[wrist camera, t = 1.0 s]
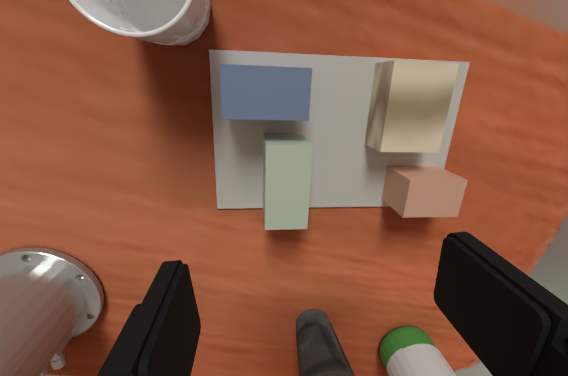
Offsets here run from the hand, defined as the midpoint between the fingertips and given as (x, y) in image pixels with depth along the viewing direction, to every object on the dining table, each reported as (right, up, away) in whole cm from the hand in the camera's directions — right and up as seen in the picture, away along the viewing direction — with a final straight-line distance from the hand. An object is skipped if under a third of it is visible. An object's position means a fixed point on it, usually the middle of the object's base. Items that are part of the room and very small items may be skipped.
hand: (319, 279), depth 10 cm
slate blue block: (-3, +13, +17) cm, 22 cm away
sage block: (-2, +5, +20) cm, 21 cm away
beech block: (+11, +12, +19) cm, 25 cm away
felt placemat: (+4, +9, +20) cm, 22 cm away
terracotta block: (+13, +4, +23) cm, 26 cm away
